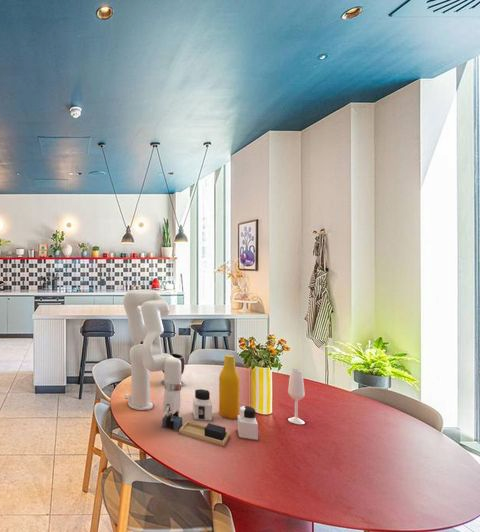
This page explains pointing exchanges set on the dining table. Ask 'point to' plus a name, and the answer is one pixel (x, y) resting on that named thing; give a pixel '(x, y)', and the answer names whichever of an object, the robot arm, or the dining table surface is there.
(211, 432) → the pad
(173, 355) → the mate gourd
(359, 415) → the dining table surface
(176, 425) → the blue block
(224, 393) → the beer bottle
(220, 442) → the wooden tray
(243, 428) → the medicine bottle
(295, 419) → the champagne flute
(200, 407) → the container
